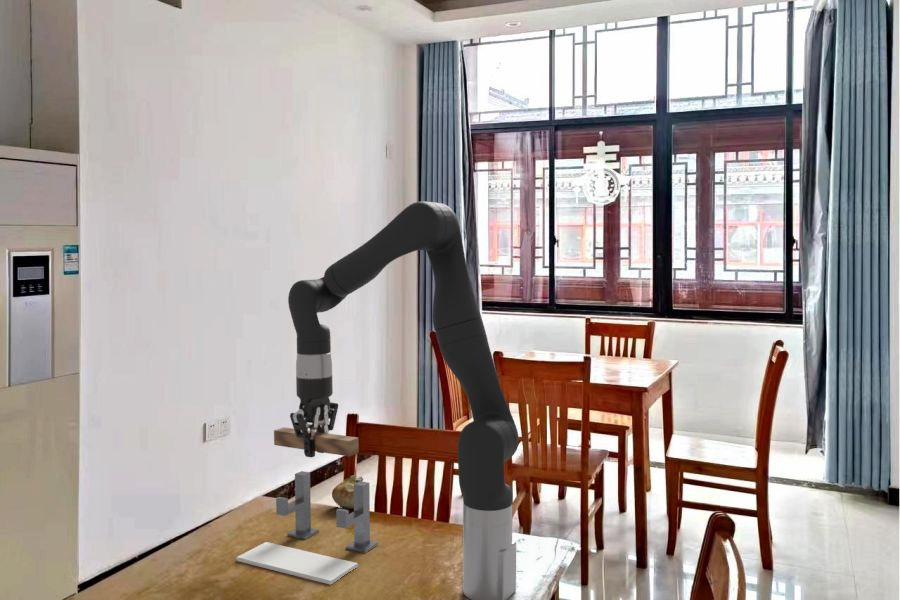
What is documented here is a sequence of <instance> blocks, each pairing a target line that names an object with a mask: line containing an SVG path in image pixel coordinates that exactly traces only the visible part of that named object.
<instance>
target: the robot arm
mask: <svg viewBox="0 0 900 600" xmlns="http://www.w3.org/2000/svg"><path fill="white" fill-rule="evenodd" d="M461 233H462V232H461V227H460V223H459V218H458V217H457V215H456V213H455V212H454V210H453V209H452V208H451V207H449V206H448V205H447V204H444V203H441V202H434V201H425V200H424V201H416V202H412V203H411V204H409V205H407V206H406V207H405V208H404V209H403V210H401V212H399V213H398V214H397V215H396V216H395V217H394V218H393V219H392V220H391V221H390V222H389V223H387V225H386V226H384V227H383V228H382V229H381V230H380V231H379V232H377V233H376V234H374V235H373V237H372V238H370V239H369V240H368V241H366V242H365V243H363V244H362V245H360V246H358V247H357V248H356V249H354V250H353V251H351V252H349V253H348V254H346V255H344V256H343V257H342V258H340V259H339V260H337V261H335V262H334V263H332V264H331V265H330V266H328V267H327V268H326V270H325V271H324V274H323V276H322V277H320V278H316V279H303V280H298V281H295V283H293V284H292V285H291V288H290V290H289V293H288V298H287V299H288V300H287V303H288V308H289V311H290V317H291V320H292V324H293V326H294V329H295V332H296V362H295V377H296V378H295V379H296V384H295V386H296V388H295V389H296V390H295V391H296V397H298V398H299V402H300V403H299V405H298V410H297V411H296V412H291V413H290V414H289V419H290V422H291V424H292V427H293V429H294V431H295V434H296V437H297V438H302V439H303V440H304V449H303V452H304V456H305V457H307V458H314V457H316V451H315V440H314V438H315V432H321V433H329V432H330V431H333V430H334V428H335V423H336V418H337V414H338V410H339V403H335V402H332V401H331V400H330V397H331V396H332V395H333V393H334V392H333V388H334V387H333V359H332V352H331V349H332V347H331V343H332V342H331V330H330V328H329V327H328V326H327V325H326V324H321V323H320V321H319V317H318V314H319V313H324V312H328V311H331V310H332V309H334V308H335V307H336V306H338V305H339V304H340V303H341V302H342V301H343V300H345V299H346V298H347V296H348V295H350V294H352V293H354V292H355V291H357V290H358V289H361V288H363V287H364V286H365V285H367V284H368V283H370V282H371V281H373V280H374V279H375V278H377V277H378V275H379V274H380V273H381V272H382V271H383V269H385V268H386V267H387V266H388V265H389V264H390V263H392V262H394V261H395V260H397V259H398V258H400V257H403V256H406V255H408V254H410V253H412V252H417V251H426V254H427V257H428V259H429V262H430V266H431V269H432V273H433V279H434V291H433V293H434V294H433V295H434V296H433V303H432V324H433V329H434V332H435V335H436V340H437V344H438V347H439V350H440V353H441V355H442V358H443V360H444V362H445V363H446V365H447V366H448V368H449V370H450V371H451V372H452V375H454V376H455V379H456V380H457V381H458V382H459V384H460V385H461V386H462V389H463V391H464V393H465V395H466V397H467V400H468V404H469V406H470V411H471V415H472V420H473V421H470V422H469V423H467V424H466V425H465V426H464V427H463V428H462V430H461V431H460V434H459V437H458V442H457V466H458V467H457V468H458V470H457V471H458V484H459V489H460V491H461V493H462V503H463V504H462V511H463V512H462V539H463V540H462V592H463V594H464V596H465V597H466V598H468V599H470V600H508V599H510V597H511V596H512V595H513V594H514V593H515V592H516V590H517V541H515V540H513V502H514V501H513V490H512V489H513V488H512V487H511V486H510V485H508V484H507V483H506V480H505V462H506V461H508V460H510V459H511V458H512V457H513V456H514V455H515V453H517V450H518V447H519V442H520V437H519V432H518V429H517V425H516V423H515V420H514V417H513V415H512V412H511V411H510V410H511V409H510V408H509V405H508V402H507V400H506V397H505V395H504V392H503V390H502V387H501V384H500V381H499V376H498V372H497V370H496V369H497V368H496V365H495V361H494V359H493V356H492V351H491V347H490V343H489V340H488V336H487V332H486V329H485V328H486V327H485V325H484V321H483V318H482V314H481V312H480V309H479V305H478V303H477V299H476V294H475V292H474V288H473V284H472V281H471V278H470V274H469V270H468V266H467V261H466V256H465V255H466V254H465V251H464V244H463V238H462V234H461ZM301 431H302V432H301ZM308 431H310V434H309V433H308ZM317 453H319V454H324V453H323V452H317Z"/></svg>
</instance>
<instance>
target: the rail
mask: <svg viewBox="0 0 900 600" xmlns="http://www.w3.org/2000/svg"><path fill="white" fill-rule="evenodd" d="M301 432H302V431H301ZM308 433H309V434H310V430H308ZM314 440H315V452H317V453H318V452H323V453H322V454H324V453H325V454H331V455H337V456H345V457H352V456H354V455H356V454H359V452H360V451H359V450H360V449H359V446H360V445H359V437H356V436H348V435H344V434H343V435H342V434H336V433H329V432H328V433H321V432H316V431H315V438H314ZM273 445H274V446H278V447H279V446H280V447H284V448H292V449H299V450H304V440H303V439H302V438H297V437H296V434H295V431H294V428H291V427H281V428H278V429H274V430H273Z"/></svg>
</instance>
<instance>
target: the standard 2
mask: <svg viewBox="0 0 900 600" xmlns="http://www.w3.org/2000/svg"><path fill="white" fill-rule="evenodd" d="M370 493H371V492H370V482H368V481H367V482H366V481H359V482H357V483H355V484H354V508H353V511H352V512H350V511H349V510H350V509H345V508H340V507H339V508H337V509H336V512H335V513H336V514H335V515H336V518H335V520H336V522H335V523H336V528H340V529H345V530H346V529H349V528H350V527H352V526H353V531H354V532H353V534H354V535H353V536H354V539H353V540H354V541H352V542H350V543H349V544H347V545H345V549H346V550H350V551H354V552H359V553H364V554H366V553H368V552H369V551H371V550H372V549H374V548H376V547H377V546H378V545H379V541H375V540H371V532H370V531H371V523H370V521H371V519H370V517H371V515H370V514H371V512H370V509H371V508H370V506H371V505H370V503H371V502H370V498H371V497H370Z"/></svg>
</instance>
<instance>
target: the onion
mask: <svg viewBox="0 0 900 600" xmlns="http://www.w3.org/2000/svg"><path fill="white" fill-rule="evenodd" d="M359 481H362V482H364V478H363V476H362V475H361V476H359V477H358V476H357V475H355V474H354V475H350V476H349V477H346V478H345V479H344V480H343V481H341V482H340V483H338V484H337V485H335V487H334V488H333V489H332V492H331V498H332V499H333V501H334V503H335V504H336V505H337V506H339V508H340V509H345V510H350V509H351V510H352V509H354V484H355V483H357V482H359Z"/></svg>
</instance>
